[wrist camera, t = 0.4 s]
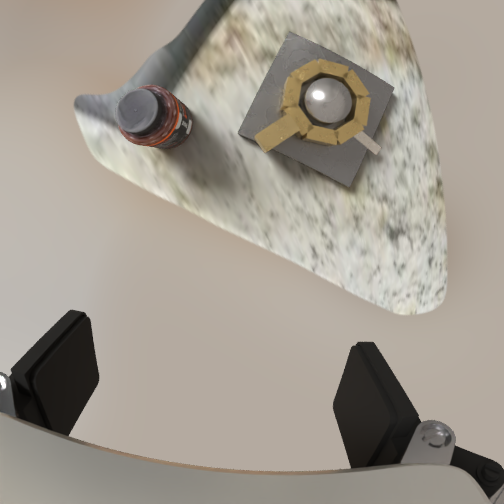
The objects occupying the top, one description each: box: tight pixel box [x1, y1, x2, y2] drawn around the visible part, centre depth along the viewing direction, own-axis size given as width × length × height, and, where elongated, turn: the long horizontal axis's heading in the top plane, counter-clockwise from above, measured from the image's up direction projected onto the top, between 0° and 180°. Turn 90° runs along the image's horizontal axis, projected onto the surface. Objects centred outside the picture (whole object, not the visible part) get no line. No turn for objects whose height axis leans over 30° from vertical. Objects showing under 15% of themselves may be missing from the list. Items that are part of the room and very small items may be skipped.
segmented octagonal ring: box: [254, 59, 371, 153], centre depth 30 cm, size 13×9×4 cm
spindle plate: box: [238, 32, 394, 187], centre depth 31 cm, size 14×16×5 cm
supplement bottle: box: [115, 85, 192, 149], centre depth 28 cm, size 6×6×11 cm
